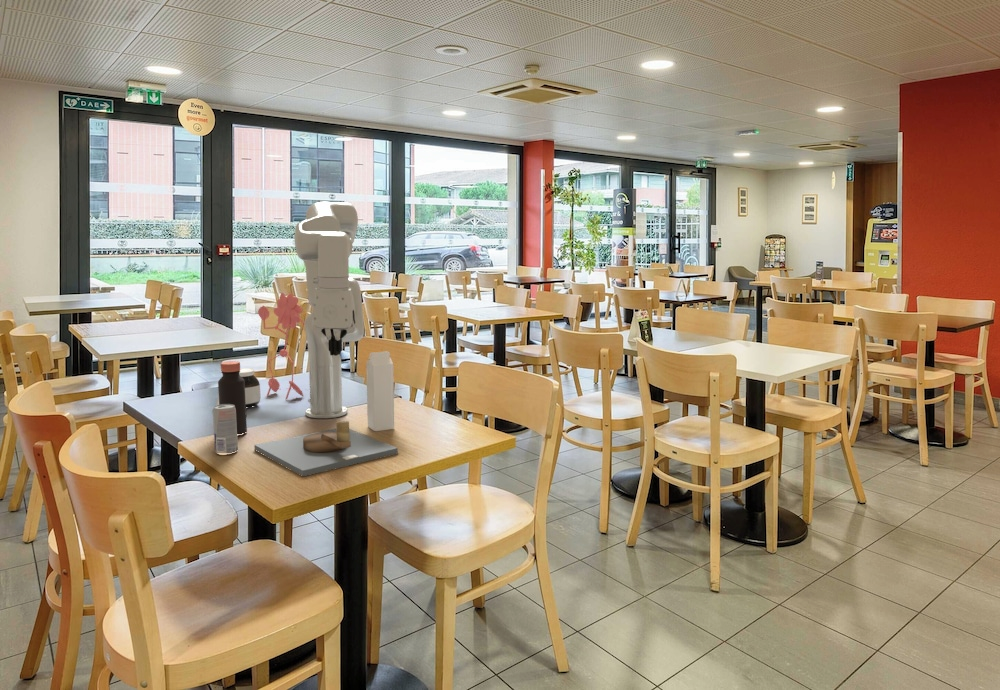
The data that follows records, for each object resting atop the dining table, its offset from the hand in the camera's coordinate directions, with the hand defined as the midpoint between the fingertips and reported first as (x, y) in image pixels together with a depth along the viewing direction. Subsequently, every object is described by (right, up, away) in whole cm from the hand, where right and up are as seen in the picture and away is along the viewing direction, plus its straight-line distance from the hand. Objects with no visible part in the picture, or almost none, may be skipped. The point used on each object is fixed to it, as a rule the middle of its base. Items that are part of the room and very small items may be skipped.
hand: (335, 354), depth 181 cm
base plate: (-2, -25, -2) cm, 25 cm away
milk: (+8, -22, +20) cm, 31 cm away
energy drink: (-27, -25, -3) cm, 37 cm away
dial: (0, -23, -4) cm, 24 cm away
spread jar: (-41, -18, +43) cm, 62 cm away
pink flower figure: (-29, -15, +60) cm, 69 cm away
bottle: (-31, -22, +13) cm, 40 cm away
